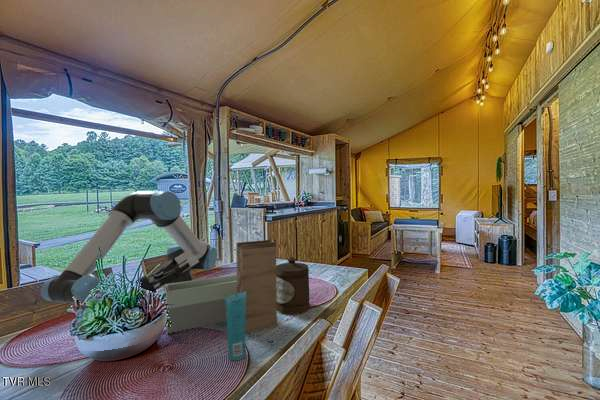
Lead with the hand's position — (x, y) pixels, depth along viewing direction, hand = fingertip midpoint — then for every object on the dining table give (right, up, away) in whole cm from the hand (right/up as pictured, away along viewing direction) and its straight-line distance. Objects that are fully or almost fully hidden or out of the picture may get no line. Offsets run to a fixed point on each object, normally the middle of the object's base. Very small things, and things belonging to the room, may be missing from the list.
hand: (194, 254), depth 111 cm
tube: (+21, -27, -23) cm, 41 cm away
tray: (+5, -26, +3) cm, 27 cm away
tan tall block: (+25, -26, -3) cm, 36 cm away
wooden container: (+38, -26, +14) cm, 48 cm away
